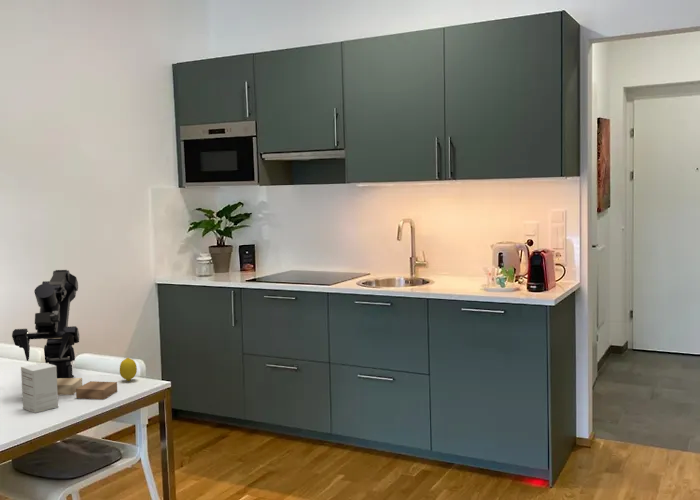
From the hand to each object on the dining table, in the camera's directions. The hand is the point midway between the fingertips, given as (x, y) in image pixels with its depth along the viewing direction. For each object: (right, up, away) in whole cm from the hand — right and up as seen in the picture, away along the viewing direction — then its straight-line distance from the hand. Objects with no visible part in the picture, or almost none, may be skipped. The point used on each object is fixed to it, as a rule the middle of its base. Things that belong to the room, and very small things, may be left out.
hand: (43, 359), depth 217 cm
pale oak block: (+1, -12, +12) cm, 17 cm away
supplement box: (+2, -14, -6) cm, 15 cm away
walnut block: (+14, -12, +7) cm, 20 cm away
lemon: (+18, -11, +24) cm, 32 cm away
